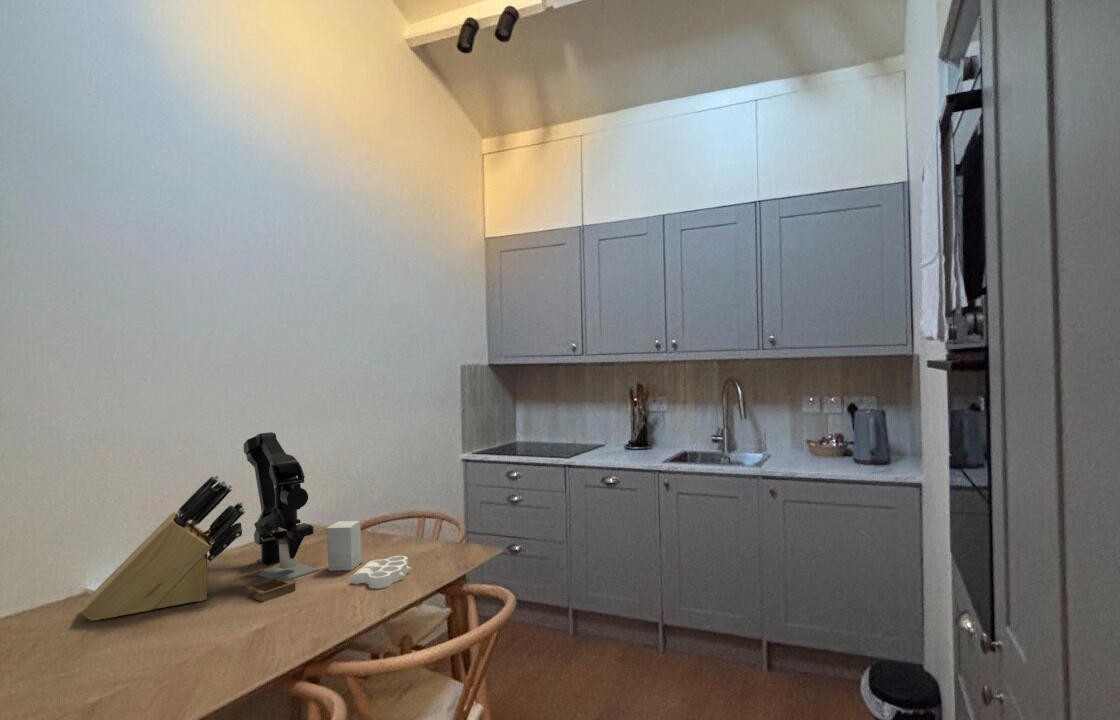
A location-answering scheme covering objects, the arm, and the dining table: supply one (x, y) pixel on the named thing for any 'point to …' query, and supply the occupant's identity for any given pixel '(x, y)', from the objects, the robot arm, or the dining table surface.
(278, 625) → the dining table surface
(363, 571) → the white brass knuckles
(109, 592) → the knife block
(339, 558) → the supplement box
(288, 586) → the pocket frame
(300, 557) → the dining table surface
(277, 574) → the mat
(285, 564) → the jar
